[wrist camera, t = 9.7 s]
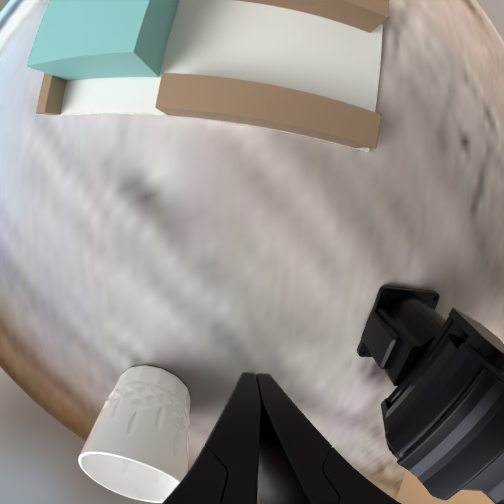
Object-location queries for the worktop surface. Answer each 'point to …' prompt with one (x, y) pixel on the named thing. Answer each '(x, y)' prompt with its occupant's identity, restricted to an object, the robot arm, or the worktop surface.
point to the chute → (254, 70)
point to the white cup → (141, 436)
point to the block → (103, 38)
